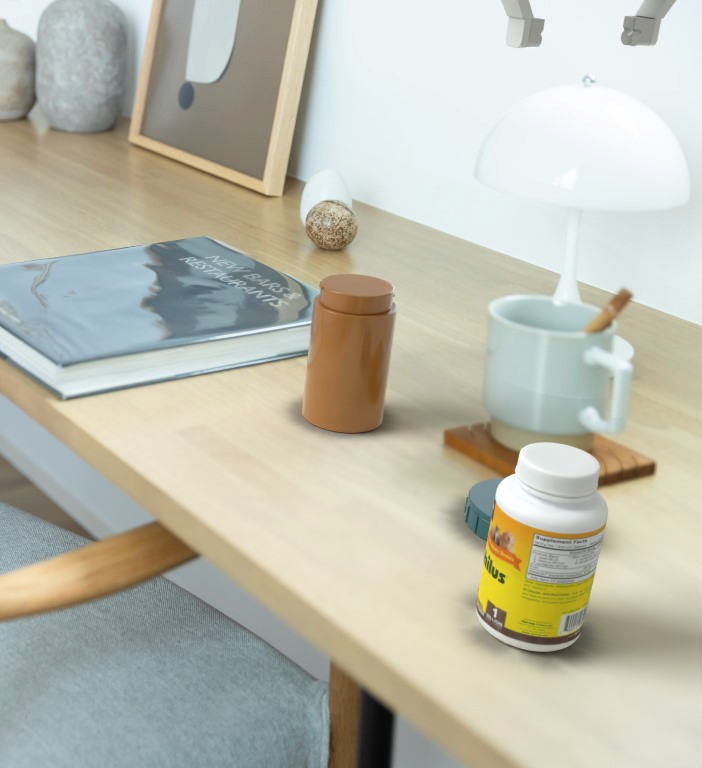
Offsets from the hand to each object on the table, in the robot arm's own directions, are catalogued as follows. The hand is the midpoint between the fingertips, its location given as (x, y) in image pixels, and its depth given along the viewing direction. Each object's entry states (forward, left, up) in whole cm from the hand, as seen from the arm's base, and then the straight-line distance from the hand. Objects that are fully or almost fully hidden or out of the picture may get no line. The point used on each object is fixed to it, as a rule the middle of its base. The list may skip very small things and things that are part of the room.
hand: (580, 46), depth 75 cm
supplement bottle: (+9, +24, -28) cm, 38 cm away
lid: (+5, +13, -27) cm, 30 cm away
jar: (+12, -4, -28) cm, 30 cm away
